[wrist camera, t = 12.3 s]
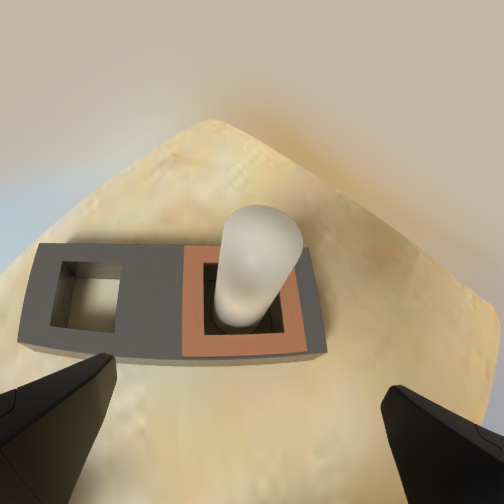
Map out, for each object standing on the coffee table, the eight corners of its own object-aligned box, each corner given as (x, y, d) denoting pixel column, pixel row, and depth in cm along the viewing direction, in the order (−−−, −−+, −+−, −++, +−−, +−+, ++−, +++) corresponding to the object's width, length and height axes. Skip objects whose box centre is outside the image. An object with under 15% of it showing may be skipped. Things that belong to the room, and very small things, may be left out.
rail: (313, 359, 22) (329, 351, 19) (34, 351, 17) (15, 340, 15) (297, 264, 26) (309, 245, 24) (51, 260, 22) (37, 241, 19)
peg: (253, 342, 22) (294, 284, 13) (206, 326, 22) (210, 256, 13) (266, 299, 24) (308, 219, 15) (221, 284, 24) (237, 196, 15)
